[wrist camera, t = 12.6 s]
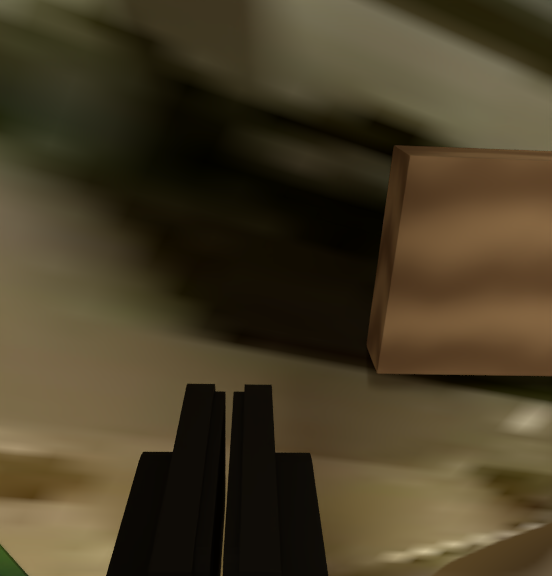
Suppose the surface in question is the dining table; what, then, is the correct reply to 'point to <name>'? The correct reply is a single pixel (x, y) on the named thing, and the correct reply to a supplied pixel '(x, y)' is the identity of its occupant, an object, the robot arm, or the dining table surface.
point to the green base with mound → (9, 565)
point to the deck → (465, 264)
